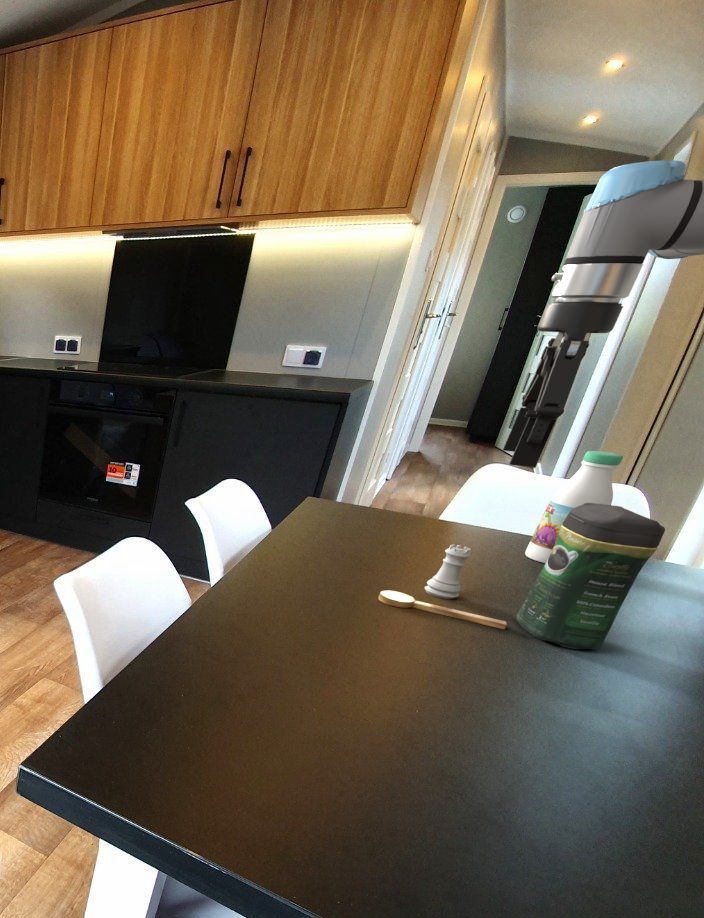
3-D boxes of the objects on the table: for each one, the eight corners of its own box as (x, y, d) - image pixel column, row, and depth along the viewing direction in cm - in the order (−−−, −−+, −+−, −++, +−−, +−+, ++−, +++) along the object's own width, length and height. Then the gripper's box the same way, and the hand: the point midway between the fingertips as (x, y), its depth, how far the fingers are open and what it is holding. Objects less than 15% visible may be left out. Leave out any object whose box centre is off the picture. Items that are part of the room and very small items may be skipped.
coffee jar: (610, 656, 84) (688, 523, 76) (536, 645, 87) (605, 514, 79) (571, 626, 92) (637, 503, 84) (504, 616, 95) (563, 495, 87)
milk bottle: (573, 559, 119) (628, 452, 110) (585, 571, 113) (644, 460, 104) (519, 550, 123) (569, 446, 114) (528, 562, 117) (581, 453, 108)
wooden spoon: (503, 622, 93) (506, 616, 92) (505, 633, 90) (508, 627, 89) (379, 593, 101) (381, 587, 101) (377, 602, 98) (379, 596, 98)
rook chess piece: (459, 594, 102) (479, 547, 98) (456, 602, 99) (477, 554, 95) (425, 586, 105) (444, 540, 101) (421, 593, 102) (440, 547, 98)
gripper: (538, 302, 96) (481, 442, 105) (560, 298, 78) (489, 468, 87) (607, 303, 92) (542, 449, 101) (647, 299, 74) (563, 477, 83)
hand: (517, 458), depth 94 cm, fingers open, 13 cm apart
